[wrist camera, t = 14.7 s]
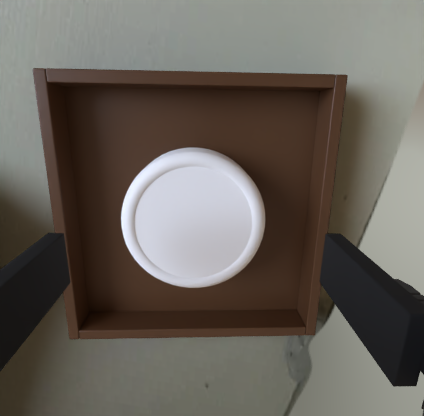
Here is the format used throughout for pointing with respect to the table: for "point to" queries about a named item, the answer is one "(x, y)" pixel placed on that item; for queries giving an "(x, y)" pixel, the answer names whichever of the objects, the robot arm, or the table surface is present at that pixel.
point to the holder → (176, 139)
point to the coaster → (193, 218)
